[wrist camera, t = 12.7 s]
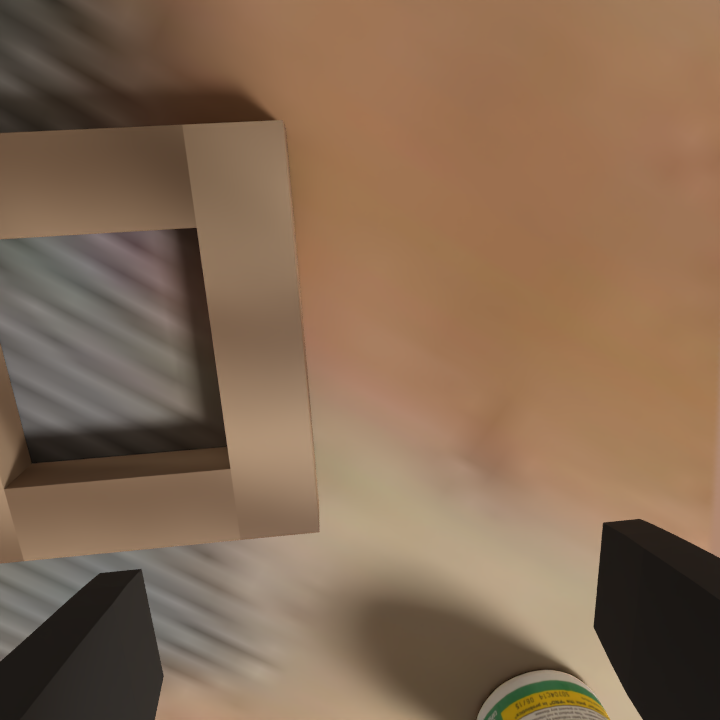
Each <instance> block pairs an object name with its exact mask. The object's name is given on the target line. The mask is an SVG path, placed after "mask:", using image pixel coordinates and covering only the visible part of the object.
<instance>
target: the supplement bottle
mask: <svg viewBox="0 0 720 720" xmlns="http://www.w3.org/2000/svg"><path fill="white" fill-rule="evenodd" d="M477 720H610V719H609V717H608V715H607V713H606V711H605V710H604V708H603V706H602V705H601V703H600V701H599V700H598V698H597V697H596V695H595V694H594V692H593V691H592V690H591V689H590V688H589V687H588V686H587V685H586V684H584V683H583V682H582V681H580V680H579V679H577V678H576V677H574V676H572V675H570V674H567V673H564V672H561V671H555V670H539V671H533V672H528V673H525V674H522V675H519V676H516V677H514V678H512V679H510V680H508V681H506V682H505V683H503V684H502V685H500V686H499V687H498V688H497V689H496V690H495V691H494V692H493V693H492V694H491V695H490V696H489V697H488V699H487V700H486V701H485V703H484V704H483V706H482V708H481V710H480V712H479V714H478V717H477Z"/></svg>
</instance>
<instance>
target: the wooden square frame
mask: <svg viewBox="0 0 720 720" xmlns="http://www.w3.org/2000/svg"><path fill="white" fill-rule="evenodd" d="M182 228H197V233H198V241H199V248H200V255H201V262H202V269H203V276H204V283H205V291H206V298H207V305H208V312H209V319H210V326H211V333H212V340H213V348H214V355H215V362H216V369H217V376H218V383H219V390H220V398H221V405H222V412H223V419H224V426H225V433H226V440H227V447H218V448H207V449H195V450H183V451H172V452H160V453H149V454H137V455H125V456H114V457H102V458H91V459H79V460H68V461H56V462H44V463H33V464H32V463H31V459H30V455H29V451H28V447H27V444H26V440H25V436H24V432H23V428H22V424H21V421H20V417H19V413H18V409H17V405H16V401H15V398H14V394H13V390H12V386H11V382H10V378H9V375H8V371H7V367H6V363H5V359H4V356H3V352H2V348H1V344H0V563H10V562H20V561H30V560H40V559H50V558H60V557H71V556H81V555H91V554H101V553H111V552H122V551H132V550H142V549H152V548H162V547H173V546H183V545H193V544H203V543H213V542H224V541H234V540H244V539H254V538H264V537H275V536H285V535H295V534H305V533H315V532H319V499H318V488H317V477H316V465H315V454H314V442H313V431H312V420H311V408H310V397H309V386H308V374H307V363H306V351H305V340H304V329H303V317H302V306H301V295H300V283H299V272H298V260H297V249H296V238H295V226H294V215H293V203H292V192H291V181H290V169H289V158H288V147H287V135H286V128H285V125H284V122H283V120H273V121H251V122H230V123H208V124H186V125H165V126H143V127H121V128H99V129H78V130H56V131H34V132H13V133H0V239H12V238H29V237H46V236H63V235H80V234H97V233H114V232H131V231H148V230H165V229H182Z"/></svg>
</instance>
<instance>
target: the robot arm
mask: <svg viewBox="0 0 720 720" xmlns="http://www.w3.org/2000/svg"><path fill="white" fill-rule="evenodd" d="M594 629H595V631H596V633H597V635H598V637H599V639H600V641H601V644H602V646H603V648H604V650H605V652H606V654H607V656H608V658H609V660H610V662H611V664H612V666H613V668H614V670H615V672H616V674H617V676H618V678H619V680H620V682H621V684H622V686H623V688H624V689H625V691H626V693H627V695H628V697H629V698H630V700H631V701H632V703H633V705H634V706H635V708H636V709H637V711H638V713H639V714H640V716H641V717H642V719H643V720H720V558H719V557H717V556H715V555H713V554H711V553H709V552H707V551H705V550H703V549H701V548H699V547H697V546H695V545H694V544H692V543H690V542H688V541H686V540H684V539H682V538H680V537H678V536H676V535H674V534H672V533H670V532H668V531H666V530H663V529H661V528H659V527H657V526H655V525H653V524H650V523H648V522H646V521H644V520H641V519H635V520H625V521H615V522H605V523H603V530H602V541H601V552H600V563H599V574H598V585H597V596H596V607H595V618H594ZM163 677H164V676H163V671H162V666H161V661H160V657H159V652H158V647H157V642H156V637H155V632H154V628H153V623H152V618H151V613H150V608H149V604H148V599H147V594H146V589H145V584H144V579H143V575H142V570H141V569H137V570H127V571H117V572H107V573H100V574H98V575H97V576H96V577H95V578H94V579H92V580H91V581H90V582H89V583H88V584H86V585H85V586H84V587H83V588H82V589H81V590H79V591H78V592H77V593H76V594H75V595H74V596H73V597H72V598H70V599H69V600H68V601H67V602H66V603H65V604H64V605H63V606H62V607H60V608H59V609H58V610H57V611H56V612H55V613H54V614H53V615H52V616H51V617H49V618H48V619H47V620H46V621H45V622H44V623H43V624H42V625H41V626H40V627H38V628H37V629H36V630H35V631H34V632H33V633H32V634H31V635H30V636H29V637H27V638H26V639H25V640H24V641H23V642H22V643H21V644H20V645H18V646H17V647H16V648H15V649H14V650H13V651H12V652H11V653H9V654H8V655H7V656H6V657H5V658H4V659H3V660H2V661H0V720H155V716H156V711H157V706H158V701H159V696H160V691H161V686H162V681H163Z"/></svg>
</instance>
